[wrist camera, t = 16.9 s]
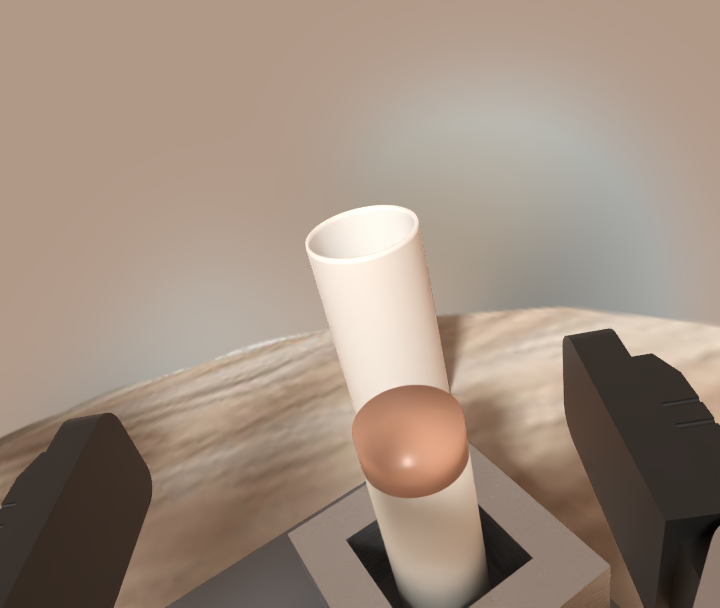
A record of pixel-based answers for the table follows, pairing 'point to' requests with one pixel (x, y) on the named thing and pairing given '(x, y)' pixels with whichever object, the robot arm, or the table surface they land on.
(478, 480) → the socket
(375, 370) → the cup
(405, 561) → the peg
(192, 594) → the mat
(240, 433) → the table surface
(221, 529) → the table surface
